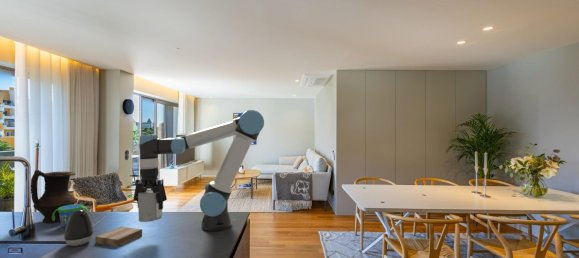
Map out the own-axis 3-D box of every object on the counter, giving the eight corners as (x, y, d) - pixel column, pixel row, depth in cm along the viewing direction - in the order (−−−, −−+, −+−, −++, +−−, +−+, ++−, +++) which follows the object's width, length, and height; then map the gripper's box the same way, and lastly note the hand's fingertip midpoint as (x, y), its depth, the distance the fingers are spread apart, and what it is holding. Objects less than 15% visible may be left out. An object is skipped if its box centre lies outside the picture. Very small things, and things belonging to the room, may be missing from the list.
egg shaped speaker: (69, 250, 111) (70, 214, 112) (60, 245, 117) (60, 210, 117) (97, 242, 120) (97, 208, 120) (87, 237, 126) (87, 205, 126)
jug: (62, 213, 163) (62, 165, 163) (84, 216, 158) (85, 166, 158) (19, 225, 142) (19, 169, 143) (43, 228, 137) (43, 170, 138)
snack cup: (92, 221, 149) (92, 203, 149) (82, 227, 139) (83, 208, 139) (59, 223, 145) (59, 205, 145) (47, 230, 135) (47, 210, 135)
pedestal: (142, 235, 128) (142, 229, 128) (117, 246, 115) (117, 239, 115) (121, 232, 132) (121, 226, 132) (95, 243, 119) (95, 236, 119)
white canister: (155, 221, 118) (154, 194, 118) (134, 222, 118) (133, 194, 118) (165, 214, 127) (165, 189, 127) (146, 215, 127) (145, 189, 128)
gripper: (174, 166, 123) (176, 214, 123) (137, 166, 130) (138, 212, 129) (162, 169, 116) (164, 220, 116) (123, 168, 122) (124, 216, 122)
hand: (150, 215), depth 123 cm, fingers closed on white canister, 9 cm apart
